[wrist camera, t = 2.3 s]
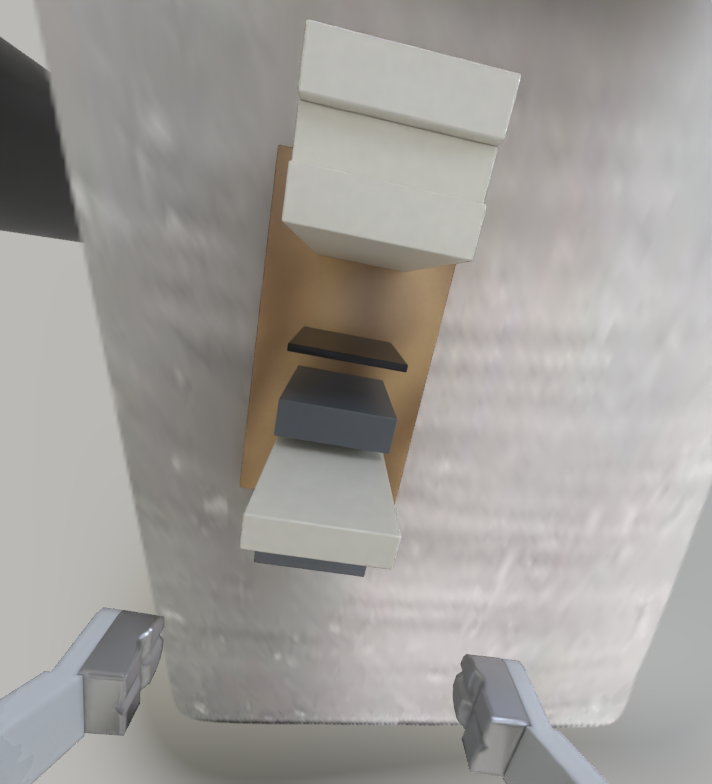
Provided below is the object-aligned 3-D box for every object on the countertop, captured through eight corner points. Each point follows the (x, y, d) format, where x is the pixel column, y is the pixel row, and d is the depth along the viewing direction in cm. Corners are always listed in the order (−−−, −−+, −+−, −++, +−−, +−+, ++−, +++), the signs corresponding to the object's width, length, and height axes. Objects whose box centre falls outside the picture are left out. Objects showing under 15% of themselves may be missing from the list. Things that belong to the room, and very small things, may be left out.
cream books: (316, 254, 23) (280, 221, 10) (328, 169, 22) (305, 16, 9) (405, 272, 23) (473, 261, 11) (423, 190, 22) (523, 72, 10)
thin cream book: (289, 422, 26) (238, 549, 14) (292, 401, 26) (242, 514, 13) (370, 436, 27) (393, 570, 14) (375, 415, 26) (402, 537, 14)
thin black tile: (302, 332, 24) (286, 350, 18) (303, 326, 24) (287, 343, 18) (390, 348, 25) (406, 372, 18) (391, 342, 25) (408, 365, 18)
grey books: (280, 479, 27) (253, 562, 19) (297, 365, 25) (274, 405, 17) (358, 491, 28) (364, 577, 20) (383, 380, 25) (400, 426, 17)
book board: (242, 480, 29) (239, 487, 28) (281, 150, 22) (278, 144, 21) (391, 502, 30) (393, 510, 29) (469, 192, 23) (475, 188, 22)
